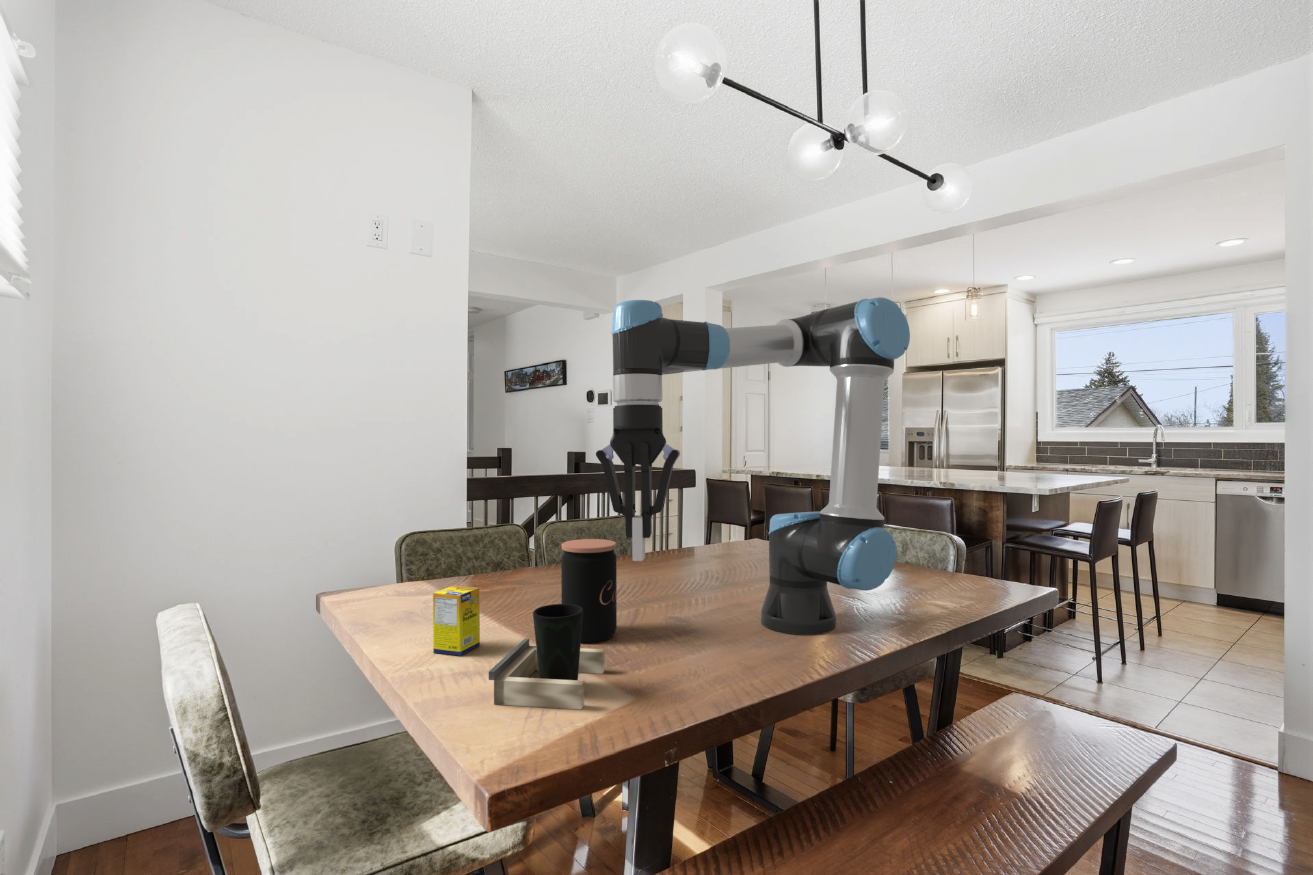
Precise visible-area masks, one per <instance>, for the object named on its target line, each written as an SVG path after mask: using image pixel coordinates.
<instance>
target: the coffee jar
mask: <svg viewBox="0 0 1313 875" xmlns="http://www.w3.org/2000/svg"><path fill="white" fill-rule="evenodd" d="M616 548H617V542H616V541H613V540H609V539H604V538H603V539H599V538H583V539H581V538H580V539H573V540H568V541H565V542H562V543H561V549H562V551H563V554H562V555H561V560H560V561H561V570H560V571H561V575H560V576H561V580H560V583H561V604H572V605H577V606H580V607H582V608H583V621H582V633H581V644H596V643H597V644H599V643H602V642H606V641H609V640H610V639H612V638H613V637H614V635H615V633H616V631H617V627H618V626H617V623H618V620H617V613H618V612H617V610H618V608H617V607H618V605H617V604H618V603H617V601H618V600H617V594H618V593H617V590H618V589H617V576H618V575H617V554H616V553H615V549H616Z"/></svg>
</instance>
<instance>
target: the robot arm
mask: <svg viewBox="0 0 1313 875" xmlns="http://www.w3.org/2000/svg"><path fill="white" fill-rule="evenodd" d="M907 319H908V318H907V317H906V315H905V313H904V312H903V311H902V309H901V307H900V306H899V305H898V304H897V303H896V302H894V301H893V300H891V299H889V298H886V297H879V296H878V297H873V298H863V299H860V300H858V301H854V302H850V303H846V304H843V305H842V304H841V305H838V306H835V307H830V308H826V309H822V310H819V311H815V312H812V313H808V314H806V315H804V316H799V317H794V318H785V319H780V320H779V321H777V322H776V323H775V324H769V325H758V326H757V325H756V326H743V327H741V326H739V327H729V328H728V327H727V328H726V327H724V326H722V325H720V324H717V323H712V322H708V321H693V320H683V319H682V320H681V319H670V318H667V317H664V313H663V310H662V306H661V304H660V303H659V302H657V301H656V302H654V301H653V300H648V299H647V300H646V299H631V300H630V299H629V300H624V301H622V302H620V303H617V304H616V305H615V306H614V308H613V315H612V325H611V326H612V328H611V329H612V330H611V335H612V375H613V376H612V401H613V402H614V403H616V405H615V406H614V407H613V408H612V416H613V417H612V425H613V426H612V428H613V430H612V436H611V438H610V440H609V444H608V445H607V446H605V447H603V448H602V449H599V450H597V451H596V452H595V456H596V458H597V459H598V460H599V462H600V465H602V468H603V469H602V470H603V473H604V478H605V482H606V484H607V485H606V486H607V490H608V494H609V498H610V502H611V507H612V510H613V512H615V513H618V514H621V515H623V516H624V519H625V521H624V522H625V524H624V525H625V537H626V538H629V539H632V543H631V544H632V547H631V548H632V549H631V550H632V554H631V555H632V561H633V562H643V561H644V560H645V558H646V539H649V538H651V537H652V532H653V530H652V528H653V526H652V523H653V522H652V521H653V520H652V518H653V515H655V514H659V513H661V512H662V511H663V510H664V507H665V503H666V498H667V494H668V490H669V486H670V482H671V477H672V473H673V468H674V465H675V463H676V462H677V460H678V459H679V457H680V456H681V451H680V450H679V449H675V448H674V447H671V445H669V444H667V439H666V438H665V436H664V429H663V427H664V426H663V407H662V406H661V405H660V402H662V401H663V375H672V374H674V375H675V374H679V373H681V374H682V373H688V372H689V373H690V372H700V371H708V370H719V369H728V368H731V369H732V368H740V367H750V366H758V365H760V366H761V365H769V364H778V365H779V366H782V367H783V368H784V367H787V368H788V367H829V372H830V373H831V374H832V375H833V376H834V377H835V379H836V393H835V408H834V419H833V420H834V422H833V423H834V424H833V437H832V438H833V439H832V451H831V452H832V454H831V468H830V483H829V495H828V496H829V498H828V503H827V505H826V506H825V507H824V508H822V509H821V510H820V511H807V512H806V511H805V512H802V511H801V512H789V513H787V512H786V513H777V514H774V515H772V516H771V518H770V519H769V529H768V530H769V531H768V560H769V561H768V564H769V568H768V569H769V584H768V585H769V586H768V590H767V592H766V595H765V597H764V601H763V604H762V607H761V611H760V623H761V625H763V626H764V627H766V628H768V629H770V630H773V631H775V632H781V633H785V634H792V635H820V634H826V633H830V632H832V631H834V630H835V629H836V628H837V615H836V611H835V608H834V605H833V602H832V599H831V596H830V593H829V590H828V583H831V584H834V585H838V586H842V587H843V588H845V589H848V590H851V589H852V590H853V589H854V590H858V591H863V592H864V591H871V590H874V589H875V590H876V589H877V588H879V587H880V586H882V585H883V584H884V583H885V581H886V580H887V579H888V578H889V577H890V575H891V574H892V572H893V570H894V568H895V564H896V561H897V556H898V555H897V553H898V550H897V544H896V541H894V537H893V535H892V534H891V532H890V531H888V530H886V528H885V516H884V515H883V514H882V513H881V512H880V511H879V509H878V508H877V504H878V485H879V474H880V473H879V470H880V457H881V456H880V455H881V454H880V453H881V443H882V442H881V439H882V426H883V425H882V424H883V409H884V408H883V407H884V396H885V394H884V392H885V381H886V380H887V379H889V377H890V376H891V375H893V374H894V372H895V371H894V370H895V360H897V359H899V358H900V357H902V356H903V355H904V354H905V353H906V351H907V350H908V348H909V346H910V341H911V332H910V325H909V322H908V320H907ZM662 451H663V455H662V458H663V459H664V463H663V467H662V471H661V475H660V479H659V483H658V487H657V492H656V497H655V501H654V504H653V493H652V492H653V487H652V486H653V482H652V481H653V479H652V477H653V476H652V473H653V472H652V471H653V463H655V461H656V459H658V457H659V456H660V454H661V453H662ZM614 452H615V454H616V456H617V457H618V458H619V460H620V461H621V462H622V463H623V471H624V501H623V498H622V493H621V489H620V485H619V481H618V477H617V472H616V468H615V465H614V462H613V460H614V459H615V458H614V457H615V456H614ZM637 465H639V466H640V472H641V475H640V476H641V478H640V479H641V513H640V515H636V513H637V510H636V470H637Z"/></svg>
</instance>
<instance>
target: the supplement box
mask: <svg viewBox="0 0 1313 875" xmlns="http://www.w3.org/2000/svg"><path fill="white" fill-rule="evenodd" d="M480 612H481V611H480V587H473V586H459V585H451V586H449V587H445V588H442V589H440V590H436V591H434V592H433V593H432V618H433V619H432V624H433V625H432V629H433V630H432V631H433V632H432V633H433V634H432V636H433V638H432V639H433V640H432V641H433V642H432V643H433V645H432V646H433V648H432V649H433V651H432V652H433V654H435V653H436V654H444V655H451V656H458V657H461V656H463V655H465V654H466V653H468V652H472V651H473V650H475V649H477V648H479V647H480V645H481V641H480V640H481V639H480V638H481V637H480V636H481V634H480V632H481V631H480V630H481V628H480V624H481V623H480V621H481V620H480Z"/></svg>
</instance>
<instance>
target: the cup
mask: <svg viewBox="0 0 1313 875" xmlns="http://www.w3.org/2000/svg"><path fill="white" fill-rule="evenodd" d="M532 618H533V629H534V637H535V646H536V649H537V658H538V668H539V671H538V674H539V676H538V677H539V678H540V679H559V680H578V681H579V673H578V671H579V658H580V648H581V647H582V646H581V645H582V643H581V633H582V621H583V608H582V607H580V606H577V605H572V604H562V603H554V604H548V605H547V604H546V605H543V606H540V607H537V608H535V609H534V610H533V612H532Z"/></svg>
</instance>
